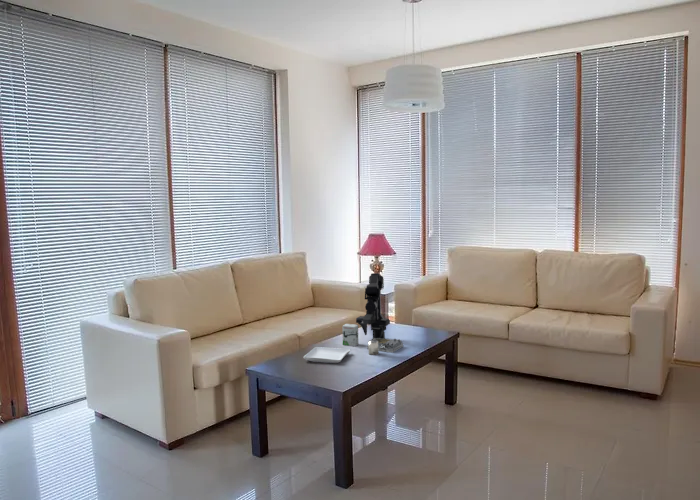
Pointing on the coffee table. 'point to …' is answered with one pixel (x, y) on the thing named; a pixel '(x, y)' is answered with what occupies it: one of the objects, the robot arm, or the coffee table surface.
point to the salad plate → (326, 354)
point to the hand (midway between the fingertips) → (373, 335)
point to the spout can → (373, 347)
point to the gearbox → (389, 345)
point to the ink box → (350, 334)
